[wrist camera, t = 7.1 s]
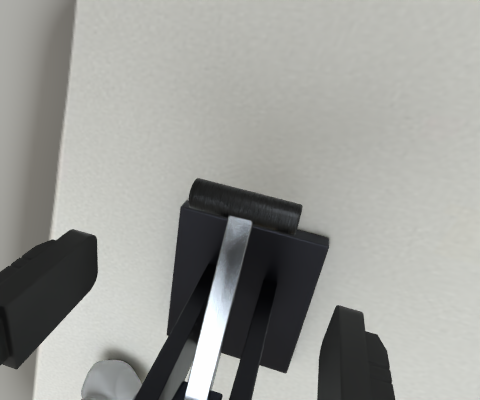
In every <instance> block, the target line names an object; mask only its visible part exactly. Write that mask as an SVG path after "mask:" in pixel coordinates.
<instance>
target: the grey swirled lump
mask: <svg viewBox="0 0 480 400" xmlns="http://www.w3.org/2000/svg"><path fill="white" fill-rule="evenodd" d="M141 386H142V383H141V381H140V379H139V377H138V376H137V374H136V373H135V371H134V370H133V368H132V367H131V366H130V365H129V364H127V363H126V362H123V361H120V360H105V361H99V362H97V363H95V364H94V365H93V366H92V368H91V369H90V371H89V372H88V374H87V376H86V379H85V381H84V384H83V387H82V390H81V396H82V399H81V400H132V399H133V397H134V396H135V395H136V393H137V392H138V391H139V390H140V388H141Z"/></svg>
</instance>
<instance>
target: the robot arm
mask: <svg viewBox="0 0 480 400" xmlns="http://www.w3.org/2000/svg"><path fill="white" fill-rule="evenodd" d="M97 273H98V263H97V238H96V236H94V235H92V234H88V233H85V232H81V231H78V230H74V229H72V230H69V231H68V232H67V233H65V234H64V235H63V236H61V237H60V238H59V239H57V240H50V241H47V242H45V243H42V244H40V245H37V246H35V247H34V248H32V249H31V250H30V251H28V252H27V253H25V254H24V255H23V256H22V258H19V259H17V260H16V261H15V262H13V263H12V264H11V266H8V267H6V268H5V269H4V270H2V271H1V272H0V365H1V364H3V365H6V366H8V367H11V368H14V369H18V368H19V366H20V365H21V364H22V363H23V362H24V361H25V360H26V359H27V358H28V357H29V356H30V355H31V354H32V352H33V351H34V350H35V349H36V348H37V347H38V346H39V345H40V344H41V343H42V342H43V341H44V340H45V338H46V337H47V336H48V335H49V334H50V333H51V332H52V331H53V330H54V329H55V328H56V327H57V326H58V324H59V323H60V322H61V321H62V320H63V319H64V318H65V317H66V316H67V315H68V314H69V313H70V311H71V310H72V309H73V308H74V307H75V306H76V305H77V304H78V303H79V302H80V301H81V300H82V299H83V297H84V296H85V295H86V294H87V293H88V292H89V291H90V290H91V288H92V287H93V285H94V283H95V281H96V278H97ZM389 368H390V366H389V360H388V354H387V350H386V349H385V347H384V345H383V343H382V342H381V340H380V338H379V337H378V335H376V334H373V333H370V332H366V331H365V325H364V316H363V313H362V312H360V311H357V310H353V309H350V308H346V307H343V306H339V305H337V306H336V308H335V310H334V313H333V315H332V318H331V321H330V323H329V326H328V328H327V331H326V334H325V336H324V339H323V342H322V346H321V350H320V356H319V373H318V398H317V400H395V396H394V390H393V385H392V378H391V372H390V370H389Z"/></svg>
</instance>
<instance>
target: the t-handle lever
mask: <svg viewBox="0 0 480 400" xmlns="http://www.w3.org/2000/svg"><path fill="white" fill-rule="evenodd" d="M189 207H190V208H192V209H196V210H200V211H204V212H207V213H211V214H215V215H218V216H222V217H226V218H228V222H227V226H226V230H225V234H224V238H223V242H222V246H221V250H220V254H219V258H218V262H217V266H216V270H215V274H214V278H213V282H212V287H211V291H210V295H209V299H208V303H207V307H206V311H205V315H204V319H203V323H202V327H201V331H200V335H199V339H198V343H197V347H196V351H195V355H194V359H193V363H192V367H191V371H190V375H189V379H188V382H185V381H182V382H181V384H180V386H179V388H178V389H177V391H176V393H175V395H174V397H173V398H172V400H222V394H221V393H218V392H215V391H212V387H213V383H214V379H215V375H216V371H217V367H218V363H219V359H220V355H221V351H222V348H223V344H224V340H225V336H226V332H227V328H228V324H229V320H230V316H231V312H232V308H233V304H234V300H235V296H236V292H237V289H238V285H239V281H240V277H241V273H242V269H243V265H244V261H245V257H246V253H247V249H248V245H249V241H250V237H251V233H252V229H253V226H254V225H256V226H259V227H263V228H267V229H270V230H274V231H278V232H282V233H285V234H289V235H293V236H294V235H295V234H296V231H297V227H298V224H299V220H300V216H301V212H302V205H301V204H297V203H293V202H290V201H286V200H282V199H278V198H274V197H270V196H266V195H262V194H258V193H254V192H251V191H247V190H243V189H239V188H235V187H231V186H227V185H223V184H219V183H215V182H212V181H208V180H204V179H200V178H197V179H196V180H195V181H194V183H193V185H192V187H191V190H190V194H189Z"/></svg>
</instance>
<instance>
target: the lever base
mask: <svg viewBox="0 0 480 400" xmlns="http://www.w3.org/2000/svg"><path fill="white" fill-rule="evenodd" d="M227 222H228V218H226V217H222V216H218V215H215V214H211V213H207V212H204V211H200V210H196V209H192V208H190V207H189V201H188V200H187V201H186V202H185V203H184V204H183V205H182V206H181V209H180V218H179V227H178V236H177V246H176V255H175V264H174V273H173V282H172V291H171V300H170V309H169V318H168V328H167V335H168V338H167V340H166V342H165V344H164V346H163V347H162V349H161V351H160V353H159V355H158V357H157V358H156V360H155V362H154V364H153V366H152V368H151V369H150V371H149V373H148V375H147V377H146V379H145V380H144V382H143V384H142V386H141V388H140V390H139V391H138V392H137V393H136V395H135V396H134V397H133V399H132V400H172V398H173V397H174V395H175V393H176V391H177V389H178V388H179V386H180V384H181V382H182V381H185V378H186V376H187V374H188V371H189V369H190V367H191V364H192V362H193V359H194V355H195V351H196V347H197V343H198V339H199V335H200V331H201V327H202V323H203V319H204V315H205V311H206V307H207V303H208V299H209V295H210V291H211V287H212V282H213V278H214V274H215V270H216V266H217V262H218V258H219V254H220V250H221V246H222V242H223V238H224V234H225V230H226V226H227ZM328 249H329V238H327V237H324V236H320V235H316V234H312V233H308V232H305V231H301V230H297V231H296V234H295V235H294V236H293V235H289V234H285V233H282V232H278V231H274V230H270V229H267V228H263V227H259V226H256V225H254V226H253V229H252V233H251V237H250V241H249V245H248V249H247V253H246V257H245V261H244V265H243V269H242V273H241V277H240V281H239V285H238V289H237V292H236V296H235V300H234V304H233V308H232V312H231V316H230V320H229V324H228V328H227V332H226V336H225V340H224V344H223V348H222V351H221V353H224V354H227V355H230V356H233V357H236V358H239V359H241V360H240V363H239V367H238V370H237V374H236V377H235V381H234V384H233V388H232V391H231V395H230V398H229V400H252V395H253V391H254V386H255V382H256V377H257V373H258V368H259V365H261V366H264V367H267V368H270V369H273V370H277V371H280V372H283V373H287V370H288V367H289V364H290V361H291V358H292V355H293V352H294V350H295V347H296V344H297V341H298V338H299V335H300V332H301V329H302V326H303V323H304V320H305V317H306V314H307V311H308V308H309V305H310V302H311V299H312V296H313V293H314V290H315V287H316V284H317V281H318V278H319V275H320V272H321V269H322V266H323V263H324V260H325V257H326V255H327V252H328Z"/></svg>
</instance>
